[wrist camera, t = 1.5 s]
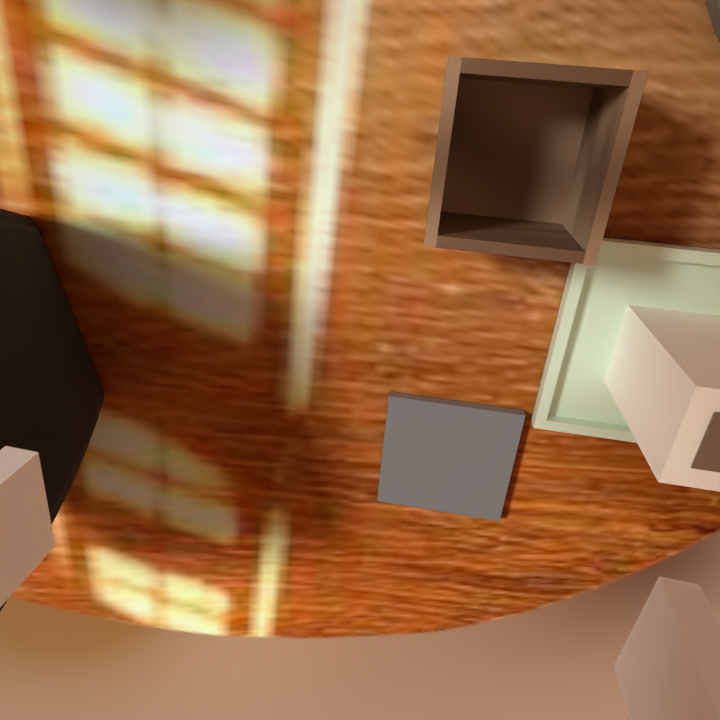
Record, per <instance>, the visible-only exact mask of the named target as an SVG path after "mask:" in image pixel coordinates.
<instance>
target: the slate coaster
mask: <svg viewBox="0 0 720 720" xmlns="http://www.w3.org/2000/svg"><path fill="white" fill-rule="evenodd" d="M525 416H526V415H525V411H524V410H518V409H511V408H504V407H497V406H490V405H483V404H476V403H469V402H462V401H455V400H448V399H441V398H433V397H426V396H419V395H412V394H405V393H398V392H391V391H390V394H389V400H388V409H387V418H386V427H385V435H384V444H383V453H382V462H381V470H380V479H379V488H378V497H377V501H381V502H387V503H393V504H399V505H405V506H411V507H417V508H424V509H430V510H436V511H442V512H448V513H454V514H460V515H466V516H473V517H479V518H485V519H491V520H497V521H500V517H501V513H502V509H503V505H504V501H505V497H506V493H507V489H508V485H509V481H510V477H511V473H512V469H513V465H514V461H515V457H516V453H517V449H518V444H519V440H520V436H521V432H522V428H523V424H524V420H525Z"/></svg>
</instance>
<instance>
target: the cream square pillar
mask: <svg viewBox="0 0 720 720" xmlns="http://www.w3.org/2000/svg"><path fill="white" fill-rule="evenodd" d="M604 382H605V383H606V385H607V387H608V389H609V391H610V393H611V395H612V397H613V398H614V400H615V402H616V404H617V406H618V408H619V410H620V412H621V413H622V415H623V417H624V419H625V421H626V423H627V425H628V427H629V428H630V430H631V432H632V434H633V436H634V438H635V440H636V442H637V443H638V445H639V447H640V449H641V451H642V453H643V455H644V457H645V458H646V460H647V462H648V464H649V466H650V468H651V470H652V472H653V473H654V475H655V477H656V479H657V481H658V482H660V483H666V484H673V485H680V486H686V487H693V488H700V489H706V490H713V491H719V492H720V316H719V315H710V314H702V313H694V312H685V311H677V310H669V309H660V308H652V307H643V306H635V305H627V308H626V311H625V315H624V318H623V321H622V324H621V328H620V331H619V334H618V337H617V340H616V344H615V347H614V350H613V353H612V356H611V360H610V363H609V366H608V369H607V373H606V376H605V379H604Z"/></svg>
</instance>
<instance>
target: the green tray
mask: <svg viewBox="0 0 720 720" xmlns="http://www.w3.org/2000/svg"><path fill="white" fill-rule="evenodd" d="M627 305H635V306H643V307H652V308H660V309H669V310H677V311H685V312H694V313H702V314H710V315H719V316H720V249H712V248H703V247H693V246H684V245H675V244H666V243H656V242H647V241H638V240H628V239H619V238H610V237H603V239H602V243H601V247H600V250H599V254H598V258H597V261H596V265H586V264H578V263H570V267H569V271H568V275H567V279H566V283H565V287H564V291H563V295H562V299H561V303H560V307H559V311H558V315H557V319H556V323H555V327H554V331H553V335H552V339H551V343H550V347H549V350H548V354H547V358H546V362H545V366H544V370H543V374H542V378H541V382H540V386H539V390H538V394H537V398H536V402H535V406H534V410H533V414H532V418H531V420H532V424H533V428H538V429H545V430H552V431H559V432H566V433H572V434H579V435H586V436H593V437H600V438H607V439H614V440H621V441H628V442H635V443H637V442H636V440H635V438H634V436H633V434H632V432H631V430H630V428H629V427H628V425H627V423H626V421H625V419H624V417H623V415H622V413H621V412H620V410H619V408H618V406H617V404H616V402H615V400H614V398H613V397H612V395H611V393H610V391H609V389H608V387H607V385H606V383H605V382H604V379H605V376H606V373H607V369H608V366H609V363H610V360H611V356H612V353H613V350H614V347H615V344H616V340H617V337H618V334H619V331H620V328H621V324H622V321H623V318H624V315H625V311H626V308H627Z"/></svg>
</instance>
